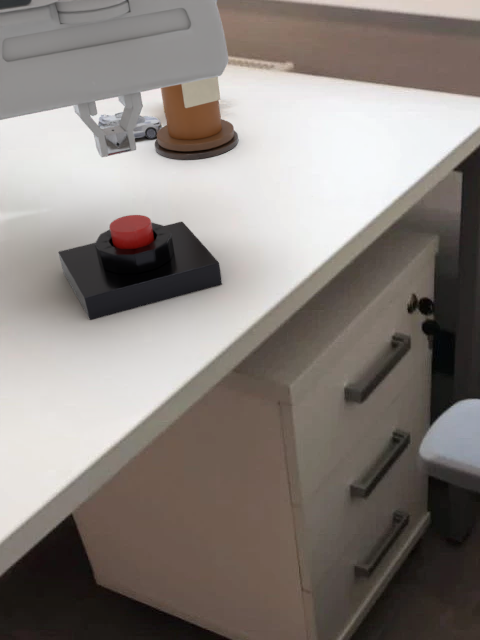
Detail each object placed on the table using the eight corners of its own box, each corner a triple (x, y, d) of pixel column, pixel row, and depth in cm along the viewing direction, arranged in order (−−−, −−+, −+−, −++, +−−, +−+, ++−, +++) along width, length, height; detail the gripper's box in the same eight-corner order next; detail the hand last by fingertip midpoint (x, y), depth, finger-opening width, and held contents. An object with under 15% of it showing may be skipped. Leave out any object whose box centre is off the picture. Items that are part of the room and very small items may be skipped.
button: (119, 255, 76) (115, 236, 75) (108, 239, 78) (104, 220, 77) (159, 245, 77) (156, 226, 76) (147, 229, 79) (144, 211, 78)
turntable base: (170, 166, 101) (169, 160, 101) (145, 140, 108) (144, 135, 108) (251, 148, 104) (250, 142, 104) (221, 124, 111) (220, 119, 111)
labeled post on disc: (145, 136, 107) (114, -43, 95) (212, 118, 111) (191, -56, 98) (178, 157, 101) (149, -31, 89) (248, 138, 104) (230, -46, 92)
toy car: (166, 137, 109) (162, 112, 107) (101, 147, 107) (96, 122, 105) (162, 127, 111) (158, 103, 110) (99, 137, 110) (94, 112, 108)
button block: (90, 321, 75) (79, 278, 72) (63, 273, 82) (53, 232, 79) (222, 285, 78) (216, 243, 76) (185, 242, 85) (179, 202, 83)
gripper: (199, -63, 69) (221, 116, 78) (-69, -23, 63) (-13, 166, 72) (228, -53, 65) (248, 137, 73) (-58, -8, 59) (1, 192, 67)
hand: (117, 152), depth 73 cm, fingers closed
